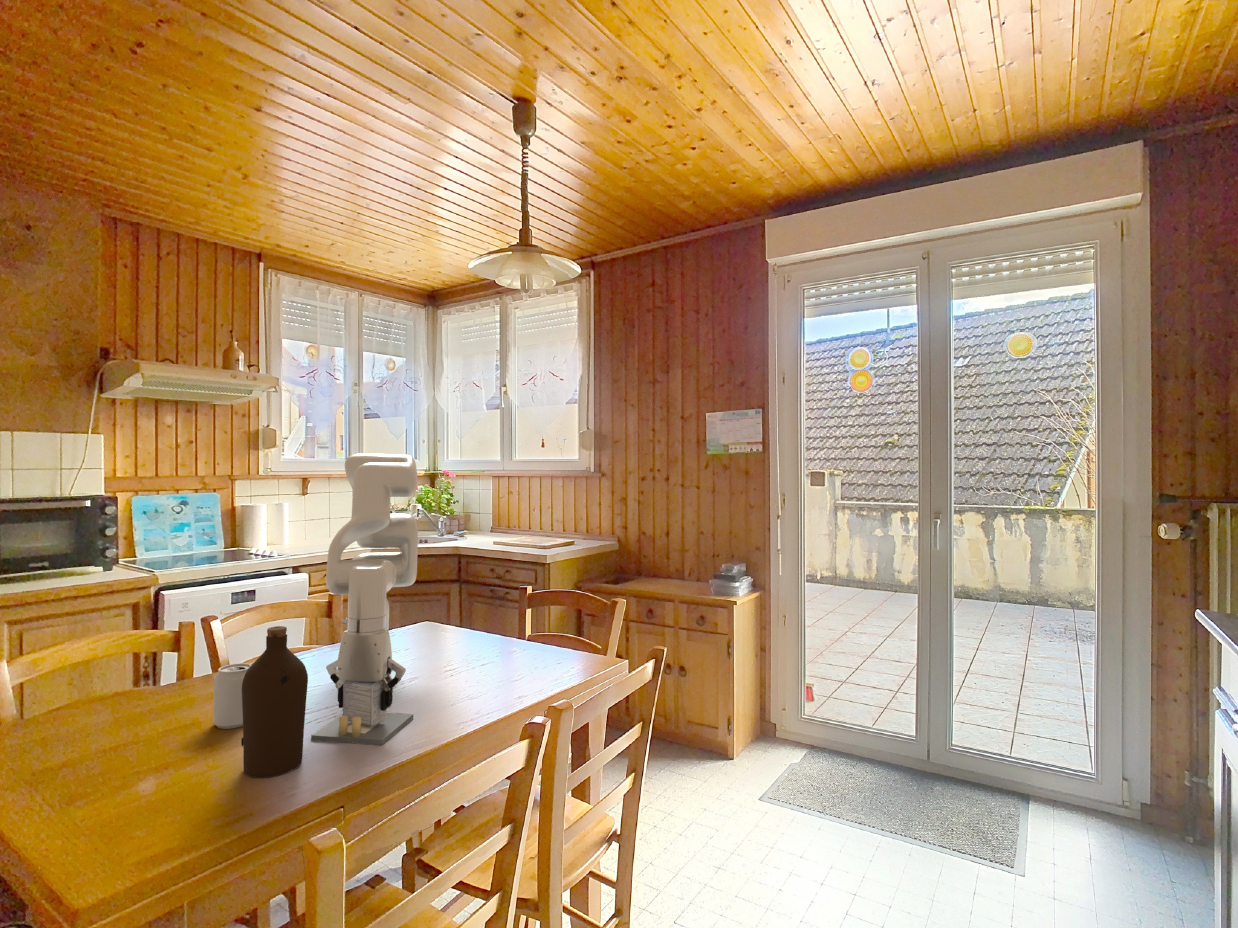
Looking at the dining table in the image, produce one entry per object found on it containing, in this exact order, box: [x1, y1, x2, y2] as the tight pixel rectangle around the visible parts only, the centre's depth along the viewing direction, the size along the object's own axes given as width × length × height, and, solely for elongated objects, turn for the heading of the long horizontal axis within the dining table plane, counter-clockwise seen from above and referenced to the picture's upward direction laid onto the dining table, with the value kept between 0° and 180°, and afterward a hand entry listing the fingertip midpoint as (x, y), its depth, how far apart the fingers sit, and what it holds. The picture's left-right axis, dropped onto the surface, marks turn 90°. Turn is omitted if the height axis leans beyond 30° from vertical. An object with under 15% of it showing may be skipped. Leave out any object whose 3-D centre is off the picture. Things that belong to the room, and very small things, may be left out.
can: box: [212, 662, 252, 730], centre depth 136 cm, size 8×8×12 cm
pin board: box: [310, 711, 414, 746], centre depth 134 cm, size 15×14×4 cm
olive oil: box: [240, 625, 309, 779], centre depth 117 cm, size 11×11×25 cm
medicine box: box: [342, 679, 387, 726], centre depth 134 cm, size 8×4×9 cm, turn 69°
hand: (364, 706), depth 134 cm, fingers closed on medicine box, 8 cm apart
